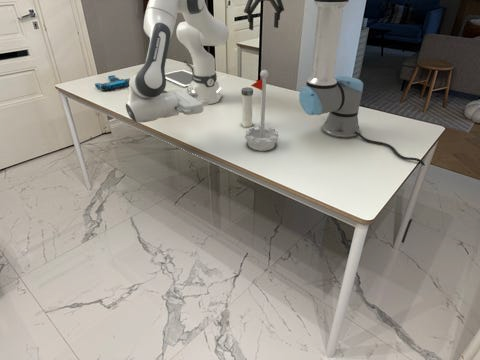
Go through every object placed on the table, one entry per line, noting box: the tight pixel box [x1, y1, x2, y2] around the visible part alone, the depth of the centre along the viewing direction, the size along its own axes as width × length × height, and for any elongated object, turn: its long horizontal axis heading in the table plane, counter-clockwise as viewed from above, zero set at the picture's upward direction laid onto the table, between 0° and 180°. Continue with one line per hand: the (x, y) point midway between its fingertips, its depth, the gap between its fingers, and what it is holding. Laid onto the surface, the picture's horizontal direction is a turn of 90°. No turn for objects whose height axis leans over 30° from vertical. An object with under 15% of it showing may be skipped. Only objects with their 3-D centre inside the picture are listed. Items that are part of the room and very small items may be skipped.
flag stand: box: [245, 69, 279, 152], centre depth 130 cm, size 13×13×30 cm
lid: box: [241, 86, 254, 96], centre depth 147 cm, size 5×5×2 cm
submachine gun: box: [94, 74, 131, 91], centre depth 208 cm, size 34×4×25 cm
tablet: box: [165, 69, 193, 88], centre depth 216 cm, size 32×20×1 cm, turn 41°
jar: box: [241, 94, 253, 128], centre depth 151 cm, size 4×4×16 cm
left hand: (202, 98), depth 136 cm, fingers open, 8 cm apart
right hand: (263, 28), depth 163 cm, fingers open, 13 cm apart
